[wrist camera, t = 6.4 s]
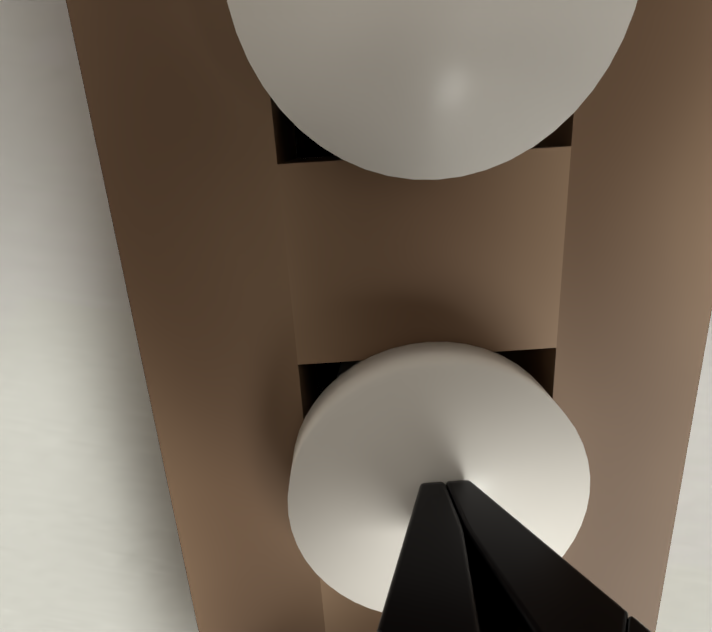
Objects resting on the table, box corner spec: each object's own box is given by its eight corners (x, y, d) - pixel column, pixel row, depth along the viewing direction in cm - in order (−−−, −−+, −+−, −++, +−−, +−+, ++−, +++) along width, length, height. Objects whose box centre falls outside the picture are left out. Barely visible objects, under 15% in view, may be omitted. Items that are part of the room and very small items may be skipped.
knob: (528, -128, 10) (680, -345, 5) (516, 159, 11) (625, 167, 7) (254, -112, 10) (186, -321, 5) (282, 173, 11) (248, 191, 7)
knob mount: (639, -138, 10) (819, -308, 6) (561, 660, 17) (624, 807, 13) (134, -111, 10) (10, -267, 6) (263, 682, 17) (242, 836, 13)
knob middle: (511, 281, 12) (604, 354, 8) (504, 465, 14) (577, 608, 10) (295, 295, 12) (271, 376, 8) (313, 478, 14) (302, 628, 10)
